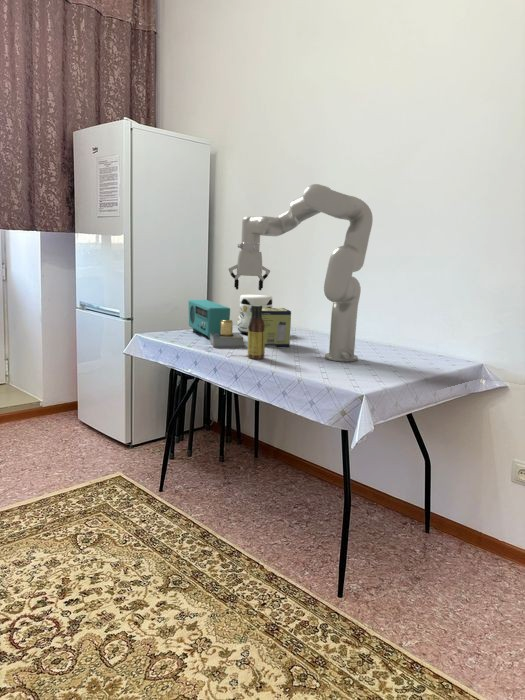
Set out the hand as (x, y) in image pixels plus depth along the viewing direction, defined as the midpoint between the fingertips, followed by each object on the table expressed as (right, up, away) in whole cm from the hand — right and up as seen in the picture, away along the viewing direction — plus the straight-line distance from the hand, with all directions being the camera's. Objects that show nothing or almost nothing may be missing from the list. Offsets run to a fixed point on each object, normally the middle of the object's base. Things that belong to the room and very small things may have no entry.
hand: (248, 289), depth 222 cm
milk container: (+2, -17, +35) cm, 39 cm away
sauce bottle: (+3, -28, -22) cm, 36 cm away
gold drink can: (-9, -23, -3) cm, 25 cm away
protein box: (+9, -23, +5) cm, 25 cm away
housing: (-9, -24, -3) cm, 26 cm away
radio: (-20, -19, +22) cm, 35 cm away
